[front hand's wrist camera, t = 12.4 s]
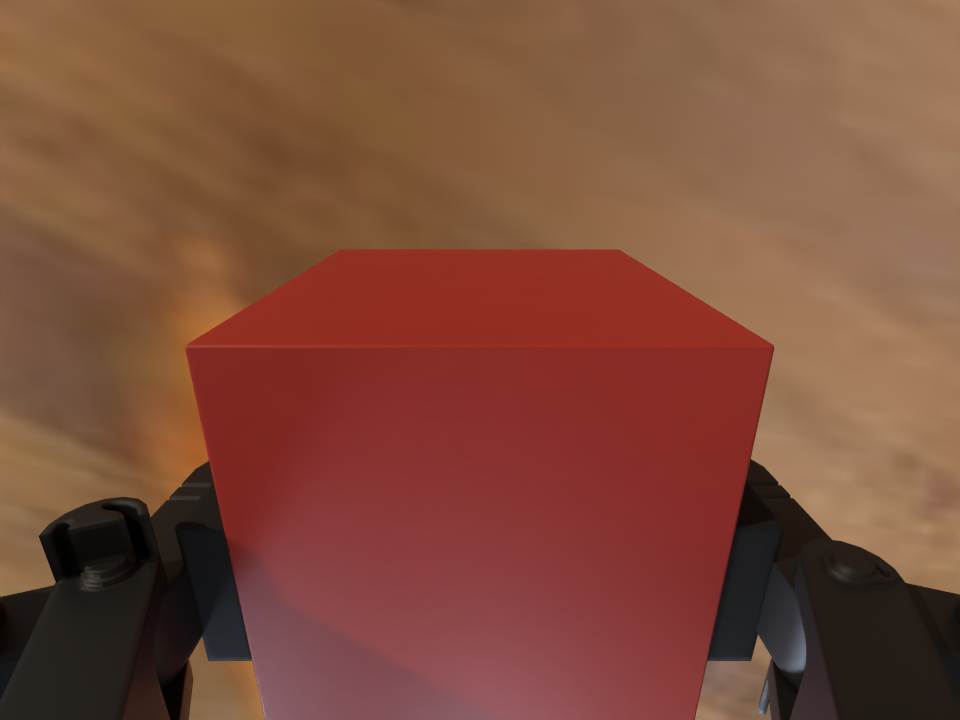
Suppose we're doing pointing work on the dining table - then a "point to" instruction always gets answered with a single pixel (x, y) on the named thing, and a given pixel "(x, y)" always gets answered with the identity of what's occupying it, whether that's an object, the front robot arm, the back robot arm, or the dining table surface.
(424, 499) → the cube
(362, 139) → the dining table surface
